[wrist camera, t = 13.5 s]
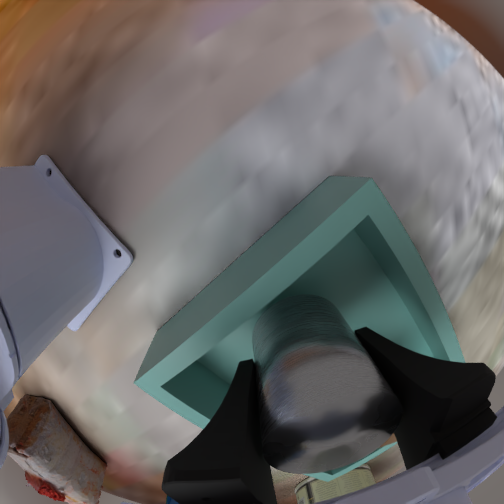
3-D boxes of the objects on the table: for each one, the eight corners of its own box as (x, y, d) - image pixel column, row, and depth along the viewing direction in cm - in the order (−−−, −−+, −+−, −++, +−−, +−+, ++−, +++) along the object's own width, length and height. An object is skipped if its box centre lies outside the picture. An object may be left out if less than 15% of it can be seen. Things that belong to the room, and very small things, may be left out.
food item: (119, 469, 22) (102, 528, 12) (74, 459, 22) (54, 509, 12) (57, 397, 18) (16, 466, 9) (16, 389, 18) (-22, 442, 9)
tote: (156, 331, 16) (133, 382, 11) (329, 175, 14) (371, 177, 9) (316, 441, 20) (327, 481, 16) (439, 349, 18) (470, 381, 13)
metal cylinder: (259, 378, 15) (271, 481, 8) (244, 304, 13) (251, 414, 6) (342, 360, 15) (388, 451, 8) (342, 285, 13) (415, 371, 6)
